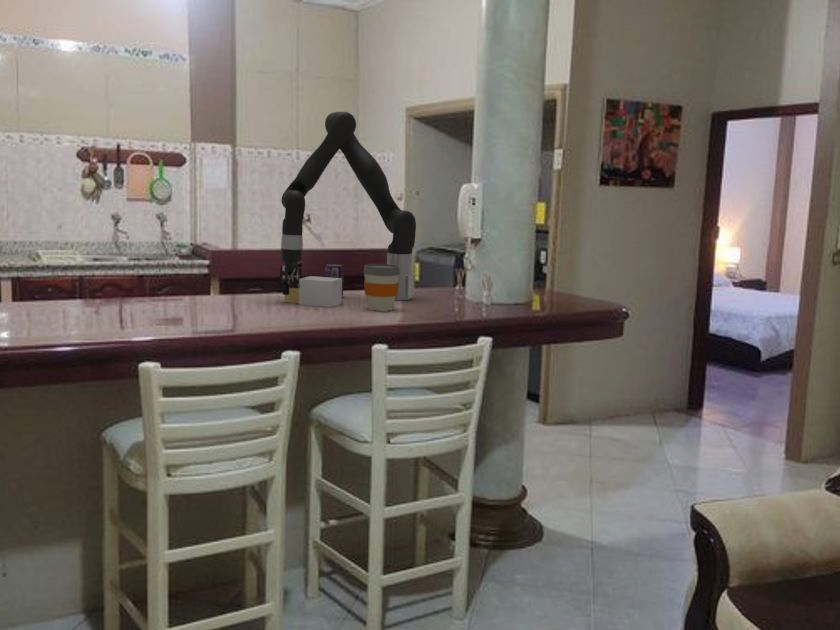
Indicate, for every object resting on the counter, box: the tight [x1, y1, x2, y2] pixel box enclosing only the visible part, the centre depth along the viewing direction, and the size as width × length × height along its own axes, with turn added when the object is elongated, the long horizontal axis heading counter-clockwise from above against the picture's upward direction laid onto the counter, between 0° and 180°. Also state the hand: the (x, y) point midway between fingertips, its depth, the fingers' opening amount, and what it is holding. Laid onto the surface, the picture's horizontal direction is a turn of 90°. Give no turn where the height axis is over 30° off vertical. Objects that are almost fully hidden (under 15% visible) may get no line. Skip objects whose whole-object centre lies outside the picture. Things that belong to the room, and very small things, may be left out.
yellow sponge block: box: [284, 287, 299, 304], centre depth 279 cm, size 10×2×5 cm, turn 76°
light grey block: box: [298, 275, 343, 308], centre depth 277 cm, size 13×10×9 cm
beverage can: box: [324, 263, 345, 297], centre depth 296 cm, size 7×7×12 cm
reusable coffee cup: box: [362, 263, 400, 312], centre depth 272 cm, size 13×13×15 cm
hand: (290, 293), depth 280 cm, fingers open, 8 cm apart
